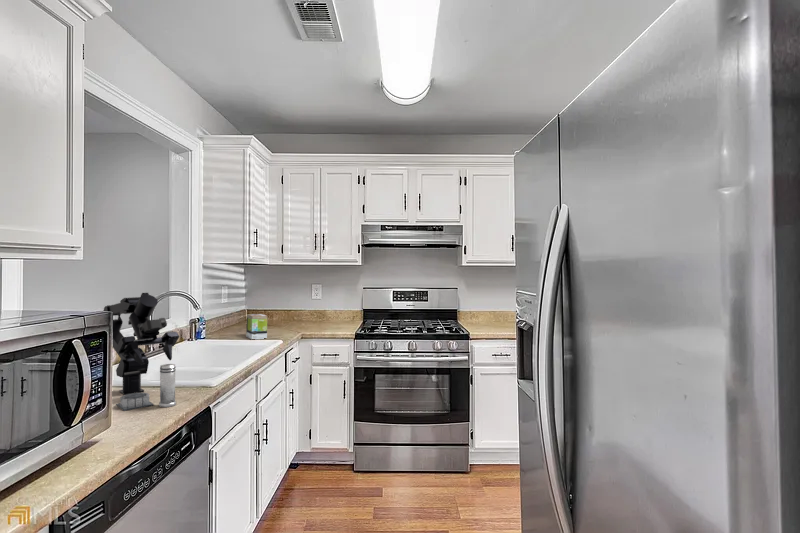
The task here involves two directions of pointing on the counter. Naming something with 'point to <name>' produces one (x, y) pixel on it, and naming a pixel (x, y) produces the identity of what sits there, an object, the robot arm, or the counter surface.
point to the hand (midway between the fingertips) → (157, 361)
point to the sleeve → (134, 401)
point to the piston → (167, 385)
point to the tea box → (256, 326)
